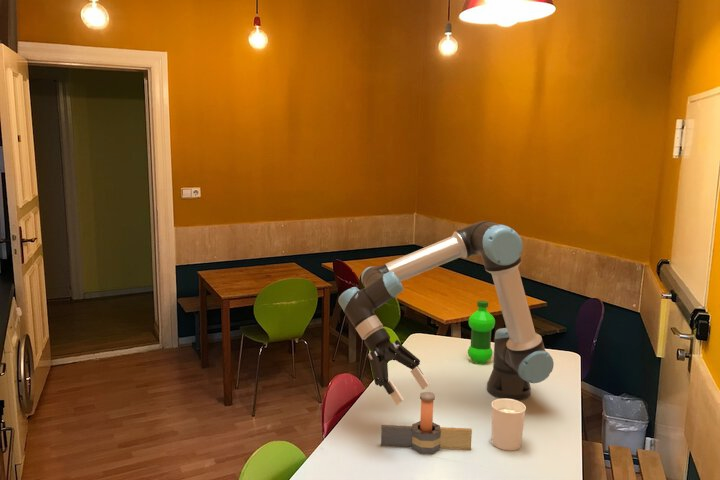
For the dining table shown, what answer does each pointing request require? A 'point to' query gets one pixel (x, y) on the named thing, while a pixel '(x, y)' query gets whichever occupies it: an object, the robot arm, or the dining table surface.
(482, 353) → the plastic bottle
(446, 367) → the dining table surface
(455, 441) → the hinge
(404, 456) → the dining table surface
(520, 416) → the candle holder
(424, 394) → the hinge pin
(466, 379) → the dining table surface
